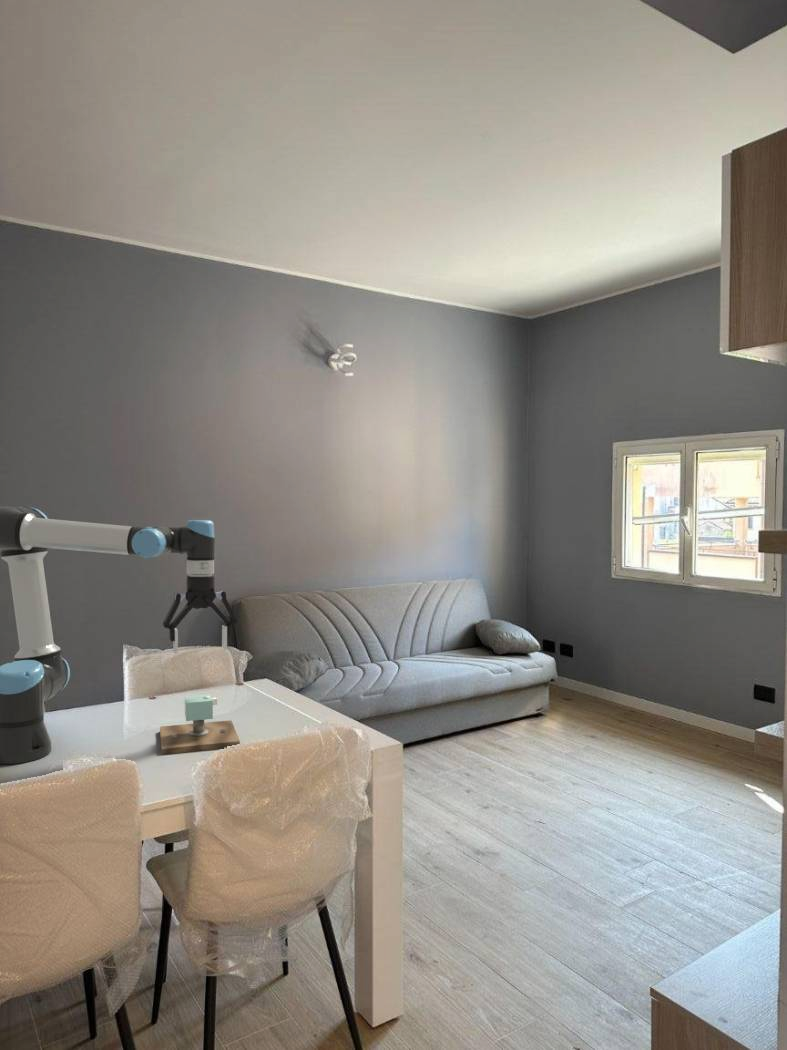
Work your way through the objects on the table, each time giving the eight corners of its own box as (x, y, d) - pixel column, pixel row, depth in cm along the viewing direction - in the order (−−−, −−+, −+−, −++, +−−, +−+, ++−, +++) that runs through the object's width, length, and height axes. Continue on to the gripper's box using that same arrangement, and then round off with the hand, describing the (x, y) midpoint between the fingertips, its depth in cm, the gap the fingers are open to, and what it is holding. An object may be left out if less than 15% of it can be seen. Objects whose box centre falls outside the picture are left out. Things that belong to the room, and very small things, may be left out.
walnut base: (161, 754, 188) (161, 731, 188) (160, 731, 207) (160, 710, 207) (239, 746, 195) (239, 724, 195) (231, 725, 214) (231, 705, 214)
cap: (186, 721, 196) (186, 701, 196) (184, 714, 203) (184, 695, 203) (217, 718, 199) (217, 699, 199) (215, 711, 206) (215, 692, 206)
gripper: (156, 577, 194) (156, 656, 195) (248, 574, 205) (247, 649, 206) (152, 575, 201) (151, 651, 201) (240, 572, 212) (240, 644, 213)
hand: (200, 650), depth 204 cm, fingers open, 13 cm apart
